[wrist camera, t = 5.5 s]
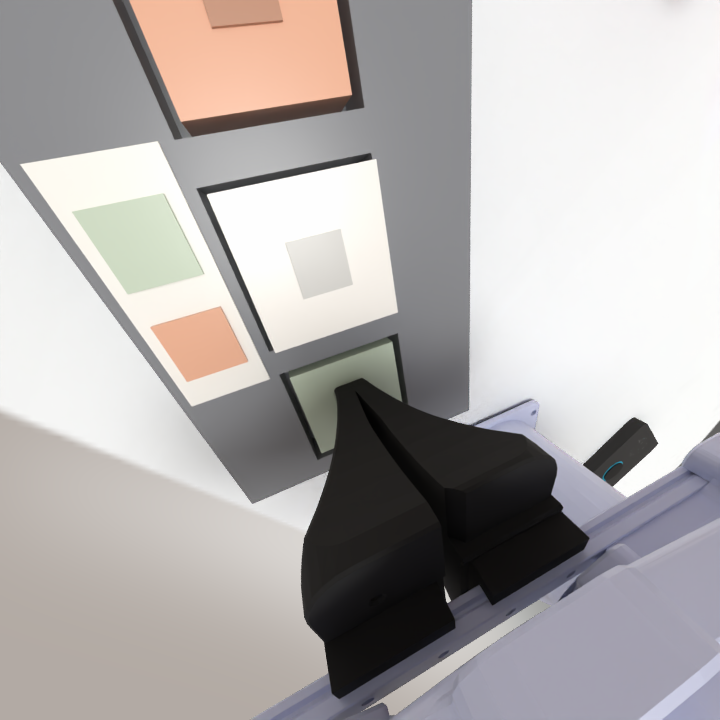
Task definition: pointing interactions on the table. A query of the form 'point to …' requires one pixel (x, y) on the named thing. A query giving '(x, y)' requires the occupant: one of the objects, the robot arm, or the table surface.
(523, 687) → the robot arm
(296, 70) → the terracotta key
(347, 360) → the sage key
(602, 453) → the smart home device
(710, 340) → the table surface
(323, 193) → the white key
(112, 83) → the keypad
